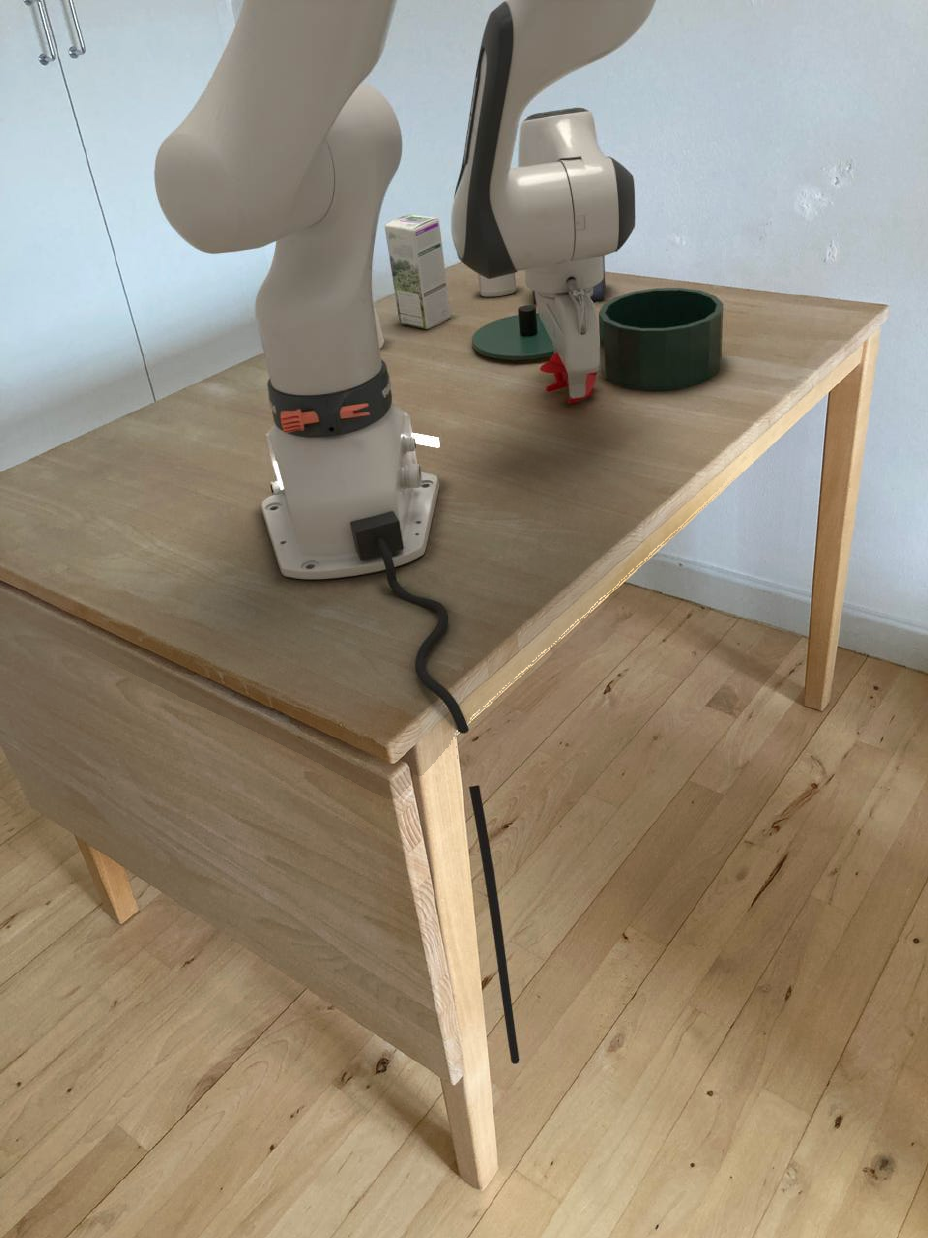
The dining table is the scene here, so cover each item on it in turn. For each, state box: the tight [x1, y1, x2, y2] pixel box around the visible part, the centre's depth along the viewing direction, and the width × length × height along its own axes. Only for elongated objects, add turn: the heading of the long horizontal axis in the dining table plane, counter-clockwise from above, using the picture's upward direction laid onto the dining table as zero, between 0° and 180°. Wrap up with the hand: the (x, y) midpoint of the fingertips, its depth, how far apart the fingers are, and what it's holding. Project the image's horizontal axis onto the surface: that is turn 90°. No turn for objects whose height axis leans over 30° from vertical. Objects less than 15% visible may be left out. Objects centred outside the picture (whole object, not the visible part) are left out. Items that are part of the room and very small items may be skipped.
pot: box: [598, 287, 725, 392], centre depth 127 cm, size 15×15×8 cm
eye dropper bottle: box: [477, 273, 517, 298], centre depth 156 cm, size 4×6×12 cm
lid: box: [471, 304, 554, 361], centre depth 140 cm, size 16×16×5 cm
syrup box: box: [383, 214, 452, 330], centre depth 148 cm, size 6×6×14 cm
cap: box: [539, 352, 598, 405], centre depth 123 cm, size 8×6×6 cm
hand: (570, 382), depth 124 cm, fingers closed on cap, 7 cm apart
